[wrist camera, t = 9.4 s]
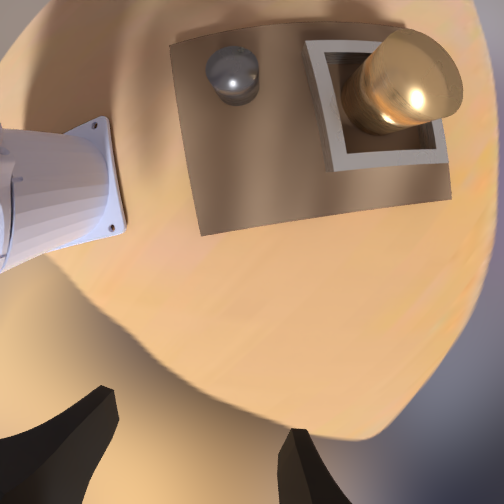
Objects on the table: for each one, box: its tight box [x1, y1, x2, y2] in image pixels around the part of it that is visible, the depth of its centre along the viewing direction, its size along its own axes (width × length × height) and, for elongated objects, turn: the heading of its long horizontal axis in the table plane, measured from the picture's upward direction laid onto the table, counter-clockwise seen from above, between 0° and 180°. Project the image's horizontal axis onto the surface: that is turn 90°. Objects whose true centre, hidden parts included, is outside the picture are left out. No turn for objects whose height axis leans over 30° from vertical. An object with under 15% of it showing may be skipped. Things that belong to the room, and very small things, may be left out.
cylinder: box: [341, 29, 463, 136], centre depth 10 cm, size 4×4×6 cm
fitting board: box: [169, 22, 452, 236], centre depth 13 cm, size 16×12×4 cm
